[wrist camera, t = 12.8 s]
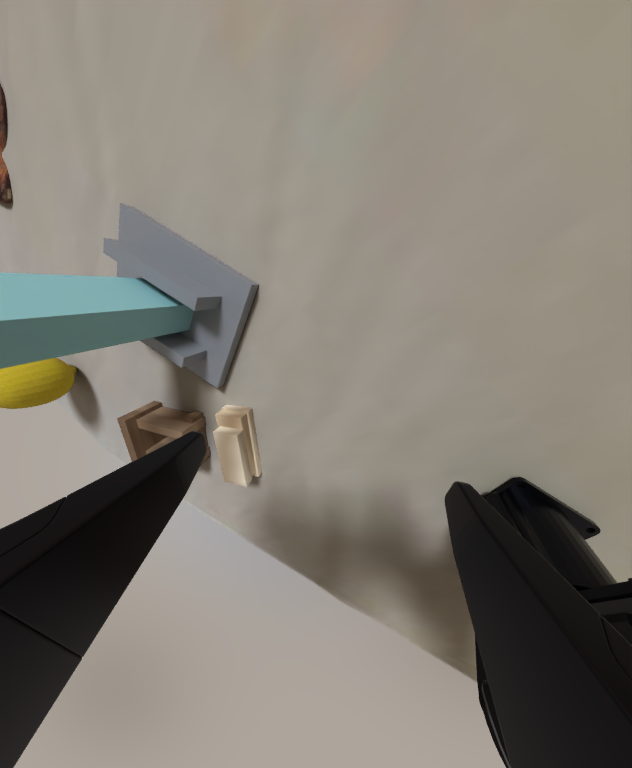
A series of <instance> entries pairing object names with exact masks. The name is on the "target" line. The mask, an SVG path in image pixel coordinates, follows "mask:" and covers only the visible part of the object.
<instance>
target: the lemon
mask: <svg viewBox="0 0 632 768" xmlns="http://www.w3.org/2000/svg"><path fill="white" fill-rule="evenodd" d="M76 371H77V370H76V368H75V367H73V366H70V365H67V364H66V363H65V362H63V361H62V360H60V359H58V358H51V359H46V360H41V361H36V362H31V363H27V364H22V365H17V366H12V367H7V368H2V369H0V407H1V408H8V409H17V408H27V407H33V406H38V405H42V404H46V403H49V402H51V401H54V400H56V399H58V398H60V397H62V396H63V395H65V394H66V393H67V392H68V391H69V390H70V389H71V388H72V386H73V384H74V375H75V373H76Z"/></svg>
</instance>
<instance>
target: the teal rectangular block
mask: <svg viewBox="0 0 632 768" xmlns="http://www.w3.org/2000/svg"><path fill="white" fill-rule="evenodd" d="M193 312H194V310H192V309H190V308H189V307H187V306H186V305H184V304H183V303H181V302H180V301H178V300H176V299H175V298H173V297H172V296H170V295H169V294H167V293H165V292H164V291H162V290H161V289H159V288H158V287H156V286H155V285H153V284H151V283H150V282H148V281H147V280H145V279H144V278H126V277H100V276H74V275H48V274H22V273H0V369H2V368H7V367H12V366H17V365H22V364H27V363H31V362H36V361H41V360H46V359H51V358H56V357H61V356H65V355H70V354H75V353H80V352H85V351H90V350H94V349H99V348H104V347H109V346H114V345H119V344H123V343H128V342H133V341H138V340H143V339H148V338H153V337H157V336H162V335H167V334H172V333H177V332H182V331H186V330H189V329H190V325H191V321H192V317H193Z"/></svg>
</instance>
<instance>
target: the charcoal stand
mask: <svg viewBox="0 0 632 768" xmlns="http://www.w3.org/2000/svg"><path fill="white" fill-rule="evenodd" d="M104 253H105V254H106V255H108V256H109V257H111V258H112V259H114V260H116V261H117V262H118V264H117V277H126V278H144V279H145V280H147V281H148V282H150V283H151V284H153V285H155V286H156V287H158V288H159V289H161V290H162V291H164V292H165V293H167V294H169V295H170V296H172V297H173V298H175V299H176V300H178V301H180V302H181V303H183V304H184V305H186V306H187V307H189V308H190V309H192V310H194V312H193V317H192V321H191V325H190V329H189V330H186V331H182V332H177V333H172V334H167V335H162V336H157V337H153V338H148V339H143V340H140V341H141V342H143V343H145V344H146V345H148V346H149V347H151V348H152V349H154V350H155V351H157V352H158V353H160V354H161V355H163V356H164V357H166V358H167V359H169V360H170V361H172V362H173V363H175V364H176V365H178V366H179V367H181V368H183V367H186V368H187V369H189V370H190V371H192V372H193V373H195V374H196V375H198V376H199V377H201V378H202V379H204V380H205V381H207V382H208V383H210V384H211V385H213V386H214V387H216V388H219V387H220V386H222V385H224V383H225V380H226V377H227V375H228V372H229V369H230V366H231V363H232V360H233V357H234V355H235V352H236V349H237V346H238V343H239V340H240V337H241V334H242V332H243V329H244V326H245V323H246V320H247V317H248V314H249V312H250V309H251V306H252V303H253V300H254V297H255V294H256V291H257V289H258V286H259V285H258V284H257V283H255V282H253V281H252V280H250V279H249V278H247V277H245V276H244V275H242V274H241V273H239V272H237V271H236V270H234V269H233V268H231V267H229V266H228V265H226V264H224V263H223V262H221V261H220V260H218V259H216V258H215V257H213V256H212V255H210V254H208V253H207V252H205V251H203V250H202V249H200V248H199V247H197V246H195V245H194V244H192V243H191V242H189V241H187V240H186V239H184V238H183V237H181V236H179V235H178V234H176V233H174V232H173V231H171V230H170V229H168V228H166V227H165V226H163V225H162V224H160V223H158V222H157V221H155V220H154V219H152V218H150V217H149V216H147V215H145V214H144V213H142V212H141V211H139V210H137V209H136V208H134V207H132V206H128V205H125V204H122V203H120V220H119V241H118V240H113V239H107V238H104Z"/></svg>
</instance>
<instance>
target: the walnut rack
mask: <svg viewBox="0 0 632 768" xmlns="http://www.w3.org/2000/svg"><path fill="white" fill-rule="evenodd" d="M117 419H118V422H119V425H120V428H121V431H122V434H123V437H124V440H125V443H126V446H127V449H128V451H129V454H130V457H131V460H132V462H133V461H135V460H137V459H139V458H141V457H143V456H144V455H146V454H148V453H150V452H152V451H154V450H156V449H158V448H160V447H162V446H164V445H166V444H168V443H169V442H171V441H173V440H175V439H177V438H179V437H181V436H183V435H185V434H187V433H189V432H191V431H196V432H201V433H203V434H204V436H205V442H206V447H207V452H206V455H205V457H204V459H203V461H202V463H203V462H204V461H206V460H207V459H208V458H209V457H210V456H209V455H210V447H208V444H207V438H206V432H205V425H206V423H205V417H203V414H202V412H198V411H193V412H192V413H187V412H182V411H178V410H174V409H170V408H166V407H162V404H161V403H160V402H156V401H153V402H151V403H149V404H147V405H145V406H143V407H141V408H139V409H136V410H134V411H132V412H130V413H128V414H126V415H124V416H122V417H120V418H117ZM202 463H201V464H202Z"/></svg>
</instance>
